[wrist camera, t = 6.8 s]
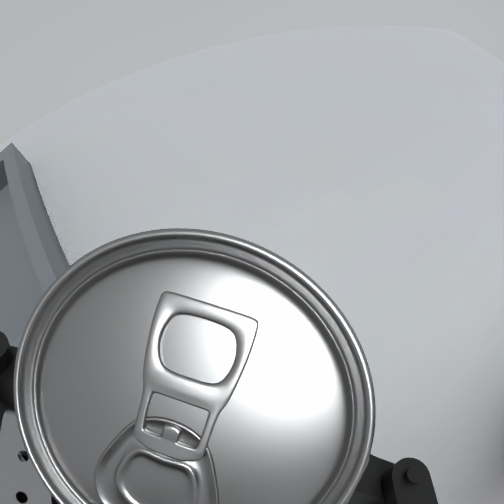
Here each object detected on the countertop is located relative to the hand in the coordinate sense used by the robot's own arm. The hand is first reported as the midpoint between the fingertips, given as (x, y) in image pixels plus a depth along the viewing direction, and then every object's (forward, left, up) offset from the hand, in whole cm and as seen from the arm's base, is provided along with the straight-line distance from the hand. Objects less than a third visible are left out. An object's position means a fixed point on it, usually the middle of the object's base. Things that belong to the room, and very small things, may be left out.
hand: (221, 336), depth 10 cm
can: (+1, +1, -6) cm, 6 cm away
